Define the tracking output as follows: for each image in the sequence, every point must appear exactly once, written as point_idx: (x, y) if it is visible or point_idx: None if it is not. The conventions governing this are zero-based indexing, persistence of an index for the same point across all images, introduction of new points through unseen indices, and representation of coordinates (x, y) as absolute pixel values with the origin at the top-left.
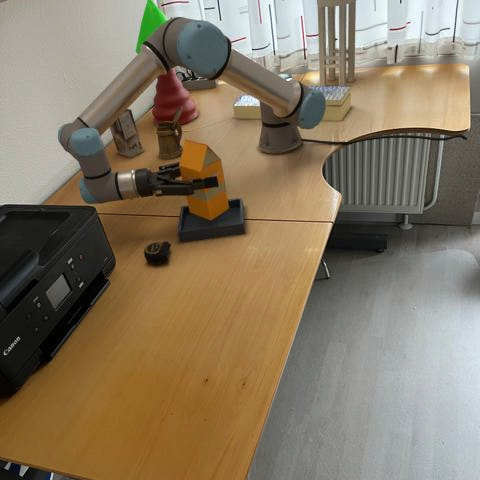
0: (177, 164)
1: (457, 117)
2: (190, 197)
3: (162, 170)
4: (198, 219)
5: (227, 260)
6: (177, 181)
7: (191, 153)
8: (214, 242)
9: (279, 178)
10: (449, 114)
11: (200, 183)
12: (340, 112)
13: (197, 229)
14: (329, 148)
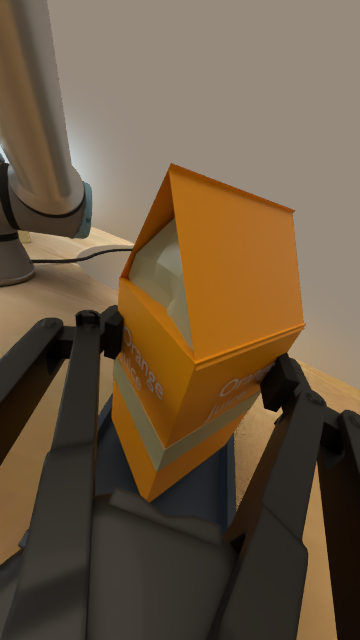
0: (15, 388)
1: (118, 238)
2: (180, 458)
3: (24, 605)
4: (122, 488)
5: (315, 467)
6: (304, 460)
7: (245, 261)
8: (244, 475)
9: (88, 309)
10: (110, 237)
11: (296, 369)
12: (27, 233)
13: (234, 508)
14: (75, 266)
